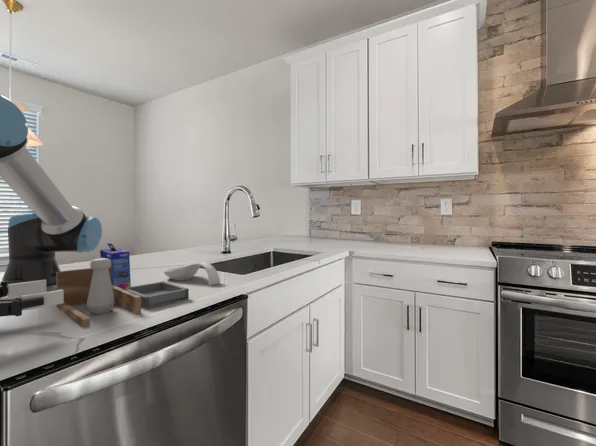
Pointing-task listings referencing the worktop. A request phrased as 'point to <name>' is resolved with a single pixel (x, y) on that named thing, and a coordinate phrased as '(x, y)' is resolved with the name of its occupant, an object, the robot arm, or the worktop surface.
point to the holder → (78, 291)
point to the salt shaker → (100, 287)
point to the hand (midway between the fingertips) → (54, 290)
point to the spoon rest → (193, 272)
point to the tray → (159, 293)
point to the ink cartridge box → (118, 266)
